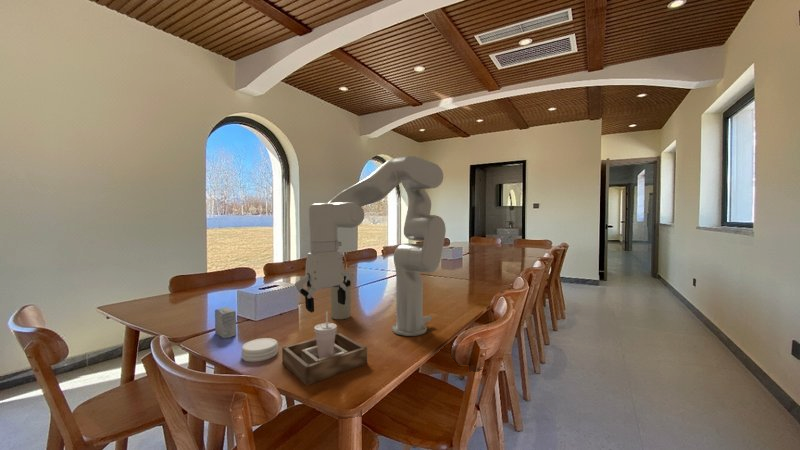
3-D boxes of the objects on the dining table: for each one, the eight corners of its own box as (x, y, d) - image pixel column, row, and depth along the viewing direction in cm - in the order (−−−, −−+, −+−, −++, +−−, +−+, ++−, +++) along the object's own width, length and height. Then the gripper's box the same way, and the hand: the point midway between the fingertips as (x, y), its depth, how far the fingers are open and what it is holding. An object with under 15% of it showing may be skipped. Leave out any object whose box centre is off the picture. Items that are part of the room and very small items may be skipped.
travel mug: (348, 320, 130) (348, 275, 129) (329, 319, 130) (328, 275, 129) (352, 313, 138) (352, 271, 137) (333, 313, 138) (333, 271, 137)
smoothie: (325, 367, 87) (325, 316, 87) (309, 361, 91) (308, 312, 90) (342, 358, 93) (341, 310, 92) (325, 353, 96) (325, 306, 96)
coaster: (241, 365, 91) (240, 353, 91) (242, 351, 100) (242, 340, 100) (278, 358, 95) (278, 347, 95) (276, 346, 104) (276, 335, 104)
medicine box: (236, 335, 113) (236, 311, 113) (222, 339, 110) (222, 313, 109) (228, 330, 118) (227, 306, 118) (214, 333, 115) (214, 309, 115)
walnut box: (338, 346, 103) (338, 332, 103) (367, 363, 91) (367, 348, 91) (282, 362, 92) (282, 347, 92) (306, 385, 80) (306, 367, 80)
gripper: (344, 243, 99) (346, 298, 100) (288, 249, 88) (291, 311, 89) (357, 245, 93) (359, 303, 94) (300, 251, 82) (303, 318, 83)
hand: (326, 307), depth 92 cm, fingers open, 9 cm apart
